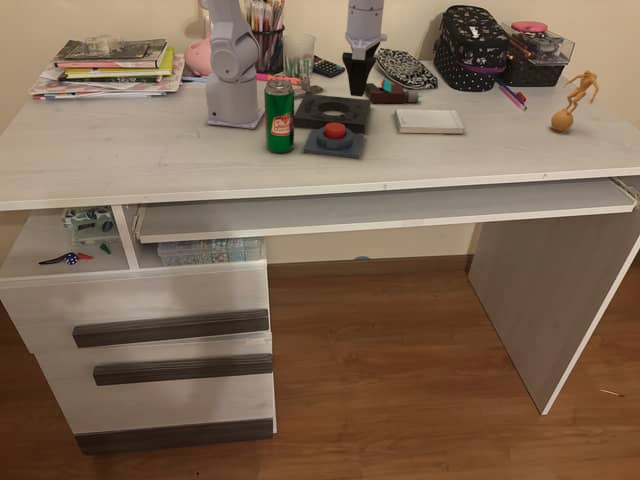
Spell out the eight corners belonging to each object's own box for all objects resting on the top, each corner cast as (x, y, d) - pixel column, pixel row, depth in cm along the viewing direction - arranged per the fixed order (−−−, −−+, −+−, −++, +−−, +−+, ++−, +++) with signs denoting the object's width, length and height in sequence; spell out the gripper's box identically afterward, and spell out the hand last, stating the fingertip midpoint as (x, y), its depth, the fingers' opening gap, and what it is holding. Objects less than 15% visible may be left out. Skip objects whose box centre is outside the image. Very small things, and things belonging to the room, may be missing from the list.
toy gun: (422, 104, 110) (426, 83, 107) (367, 105, 109) (369, 82, 106) (413, 87, 118) (416, 66, 115) (361, 87, 117) (363, 66, 114)
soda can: (273, 157, 90) (271, 91, 83) (262, 144, 94) (259, 80, 87) (298, 151, 92) (299, 86, 85) (287, 139, 96) (286, 76, 88)
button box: (303, 153, 92) (303, 140, 90) (311, 133, 98) (311, 121, 97) (358, 159, 91) (360, 146, 89) (363, 138, 97) (364, 126, 95)
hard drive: (400, 126, 98) (464, 126, 99) (394, 108, 105) (455, 109, 105) (399, 133, 99) (463, 134, 100) (394, 115, 106) (453, 116, 106)
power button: (323, 139, 92) (323, 130, 91) (326, 130, 95) (327, 121, 94) (343, 141, 92) (343, 132, 90) (345, 132, 94) (346, 123, 93)
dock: (293, 127, 100) (293, 117, 99) (305, 102, 110) (305, 93, 108) (364, 134, 98) (365, 124, 97) (370, 108, 108) (371, 99, 107)
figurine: (538, 122, 105) (556, 63, 98) (563, 119, 106) (583, 61, 99) (563, 140, 99) (584, 79, 91) (589, 137, 100) (613, 77, 93)
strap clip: (293, 100, 110) (293, 80, 108) (285, 95, 112) (284, 76, 110) (323, 91, 115) (324, 72, 112) (315, 86, 117) (316, 68, 114)
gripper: (387, 20, 77) (378, 105, 85) (392, -3, 88) (384, 74, 97) (341, 16, 78) (336, 101, 86) (352, -6, 89) (347, 71, 97)
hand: (359, 87), depth 91 cm, fingers open, 7 cm apart
